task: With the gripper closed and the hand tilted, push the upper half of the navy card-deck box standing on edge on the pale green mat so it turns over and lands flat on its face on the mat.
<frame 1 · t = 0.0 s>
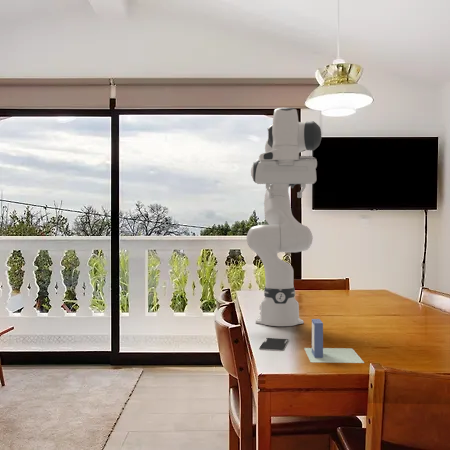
hand: (285, 197, 164), 48 cm above the table, tool pointing down, fingers open, 8 cm apart
smartphone: (274, 348, 158), on the table
deck box: (317, 354, 146), resting on mat
mat: (332, 356, 146), on the table
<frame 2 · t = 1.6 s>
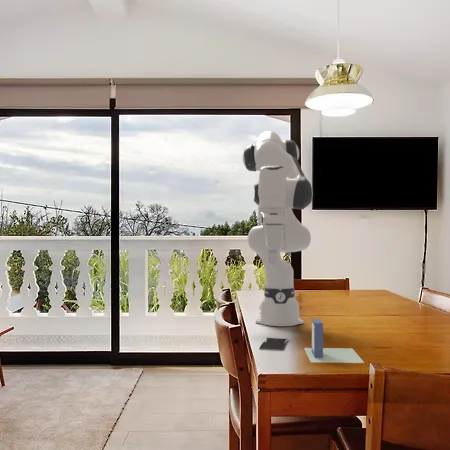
hand: (272, 263, 150), 27 cm above the table, tool pointing down, fingers open, 5 cm apart
nothing on the table moved.
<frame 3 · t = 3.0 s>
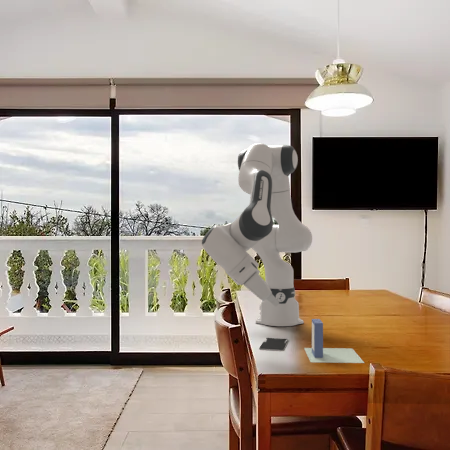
hand: (277, 304, 146), 15 cm above the table, tool tilted 45°, fingers closed
nothing on the table moved.
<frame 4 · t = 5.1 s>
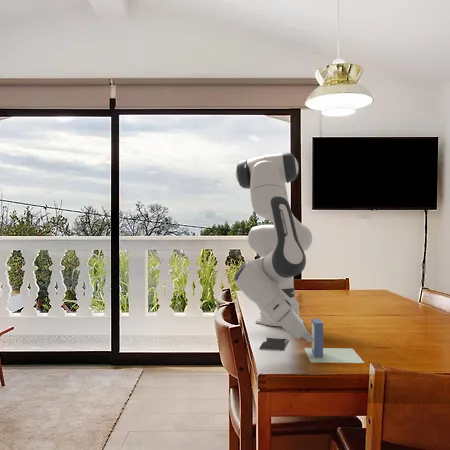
hand: (310, 339, 146), 5 cm above the table, tool tilted 45°, fingers closed, pressing on deck box
deck box: (317, 354, 146), resting on mat, touching gripper
everything else where it was.
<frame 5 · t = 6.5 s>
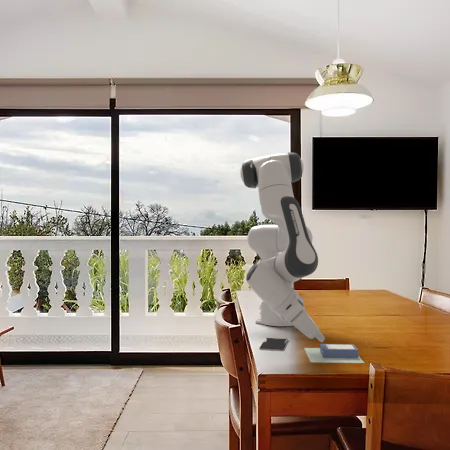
hand: (322, 339, 146), 5 cm above the table, tool tilted 45°, fingers closed
deck box: (321, 350, 146), point 2 cm above the table, tilted 90°, touching mat
everything else where it was.
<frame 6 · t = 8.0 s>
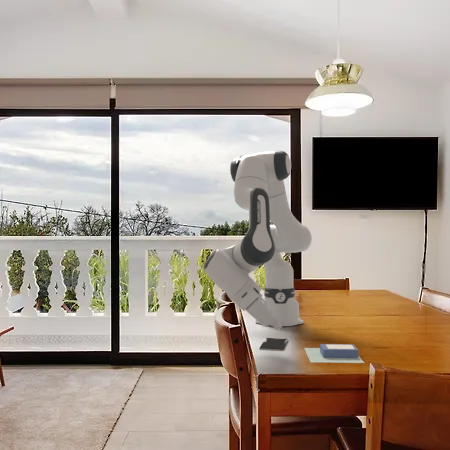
hand: (280, 328, 146), 8 cm above the table, tool tilted 45°, fingers closed
nothing on the table moved.
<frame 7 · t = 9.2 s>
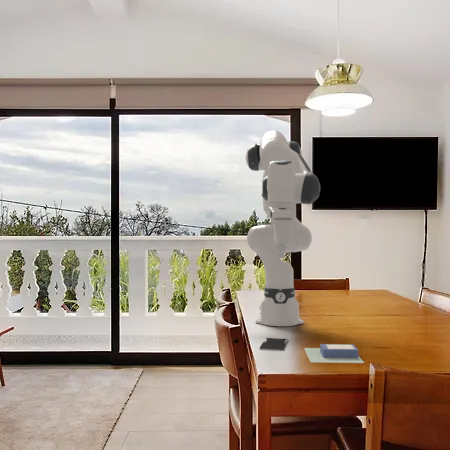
hand: (281, 258, 150), 29 cm above the table, tool pointing down, fingers closed
nothing on the table moved.
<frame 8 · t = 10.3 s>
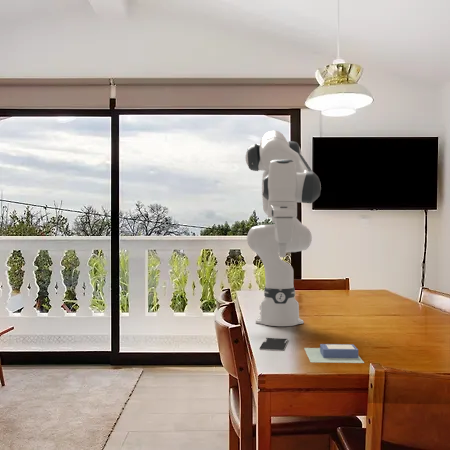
hand: (282, 257, 150), 29 cm above the table, tool pointing down, fingers closed
nothing on the table moved.
at the end: deck box tilted 90°; deck box inside the target area (3.2 cm from its centre), point 1.6 cm above the table; the gripper is holding nothing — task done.
